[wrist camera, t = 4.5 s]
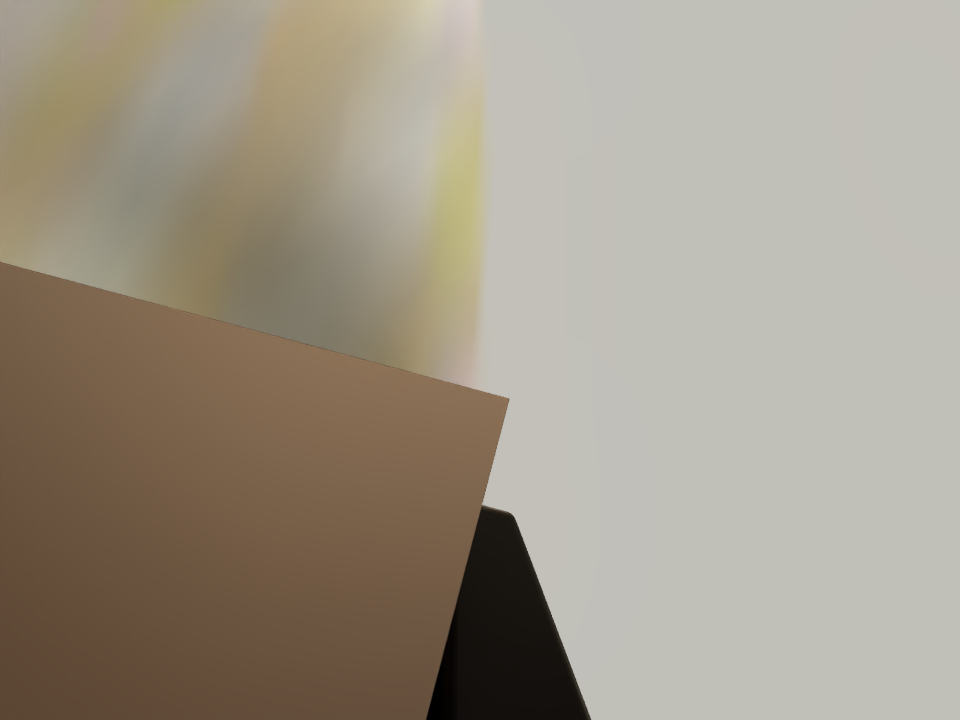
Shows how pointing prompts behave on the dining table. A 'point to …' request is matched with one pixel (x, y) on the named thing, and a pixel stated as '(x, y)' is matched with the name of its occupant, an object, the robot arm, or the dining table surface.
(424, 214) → the dining table surface
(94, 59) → the dining table surface
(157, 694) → the square wooden post
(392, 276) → the dining table surface
